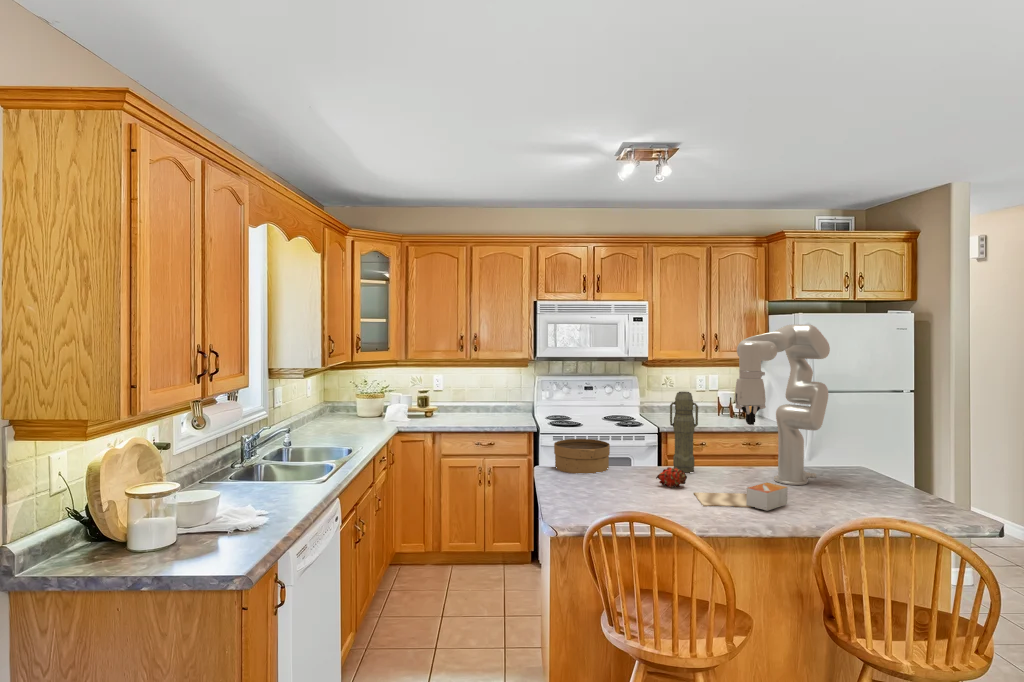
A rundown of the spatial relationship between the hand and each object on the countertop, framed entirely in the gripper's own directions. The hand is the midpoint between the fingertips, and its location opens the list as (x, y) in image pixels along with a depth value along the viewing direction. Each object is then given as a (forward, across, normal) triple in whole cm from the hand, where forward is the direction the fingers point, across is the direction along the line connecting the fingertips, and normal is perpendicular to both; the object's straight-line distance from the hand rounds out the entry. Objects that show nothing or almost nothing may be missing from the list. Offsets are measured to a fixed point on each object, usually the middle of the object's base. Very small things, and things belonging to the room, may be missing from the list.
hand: (750, 424), depth 224 cm
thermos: (+28, +16, -39) cm, 50 cm away
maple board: (+27, +9, +7) cm, 29 cm away
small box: (+23, -6, +9) cm, 26 cm away
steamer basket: (+27, +61, -44) cm, 80 cm away
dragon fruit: (+27, +27, -12) cm, 40 cm away
